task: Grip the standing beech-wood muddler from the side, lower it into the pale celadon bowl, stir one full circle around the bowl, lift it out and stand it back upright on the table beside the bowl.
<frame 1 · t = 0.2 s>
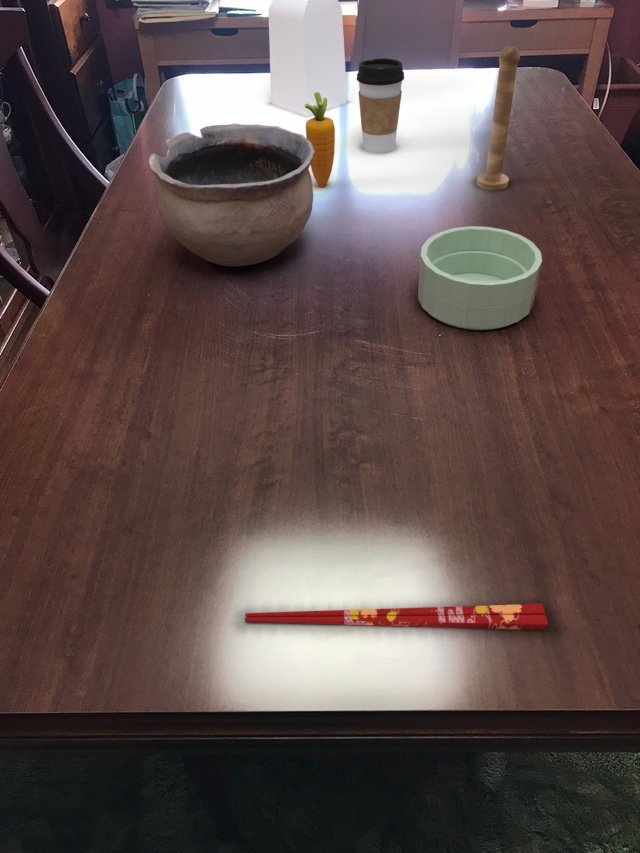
carrot: (322, 189, 118), on the table
ceramic bowl: (244, 252, 102), on the table
muddler: (492, 185, 116), on the table
chopstick: (393, 623, 55), on the table
celadon bowl: (474, 302, 90), on the table
coffee cup: (378, 150, 130), on the table
milk: (309, 105, 150), on the table
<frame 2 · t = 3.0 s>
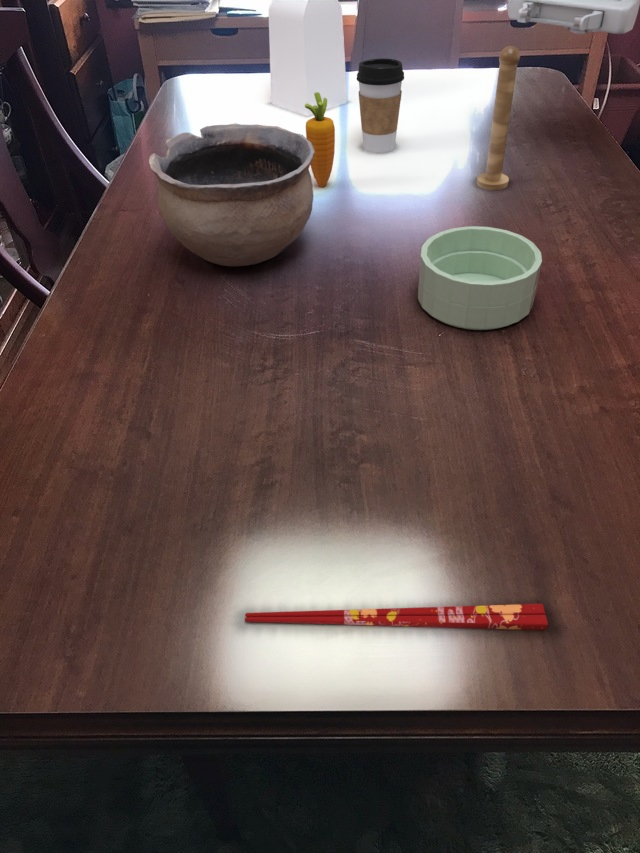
hand: (549, 20, 107), 22 cm above the table, tool horizontal, fingers open, 8 cm apart
nothing on the table moved.
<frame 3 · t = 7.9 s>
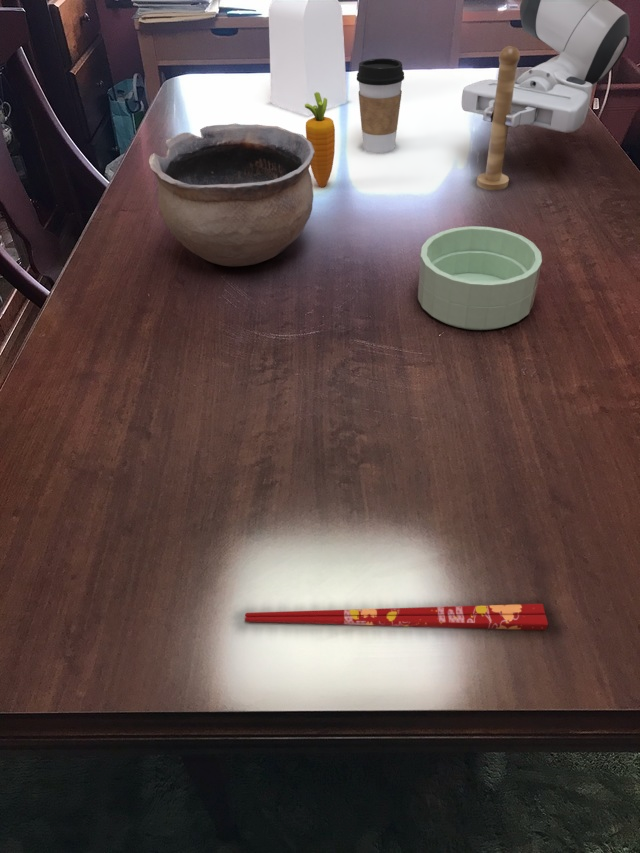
hand: (498, 118, 108), 11 cm above the table, tool horizontal, fingers closed on muddler, 2 cm apart
muddler: (492, 185, 116), on the table, touching gripper
everything else where it was.
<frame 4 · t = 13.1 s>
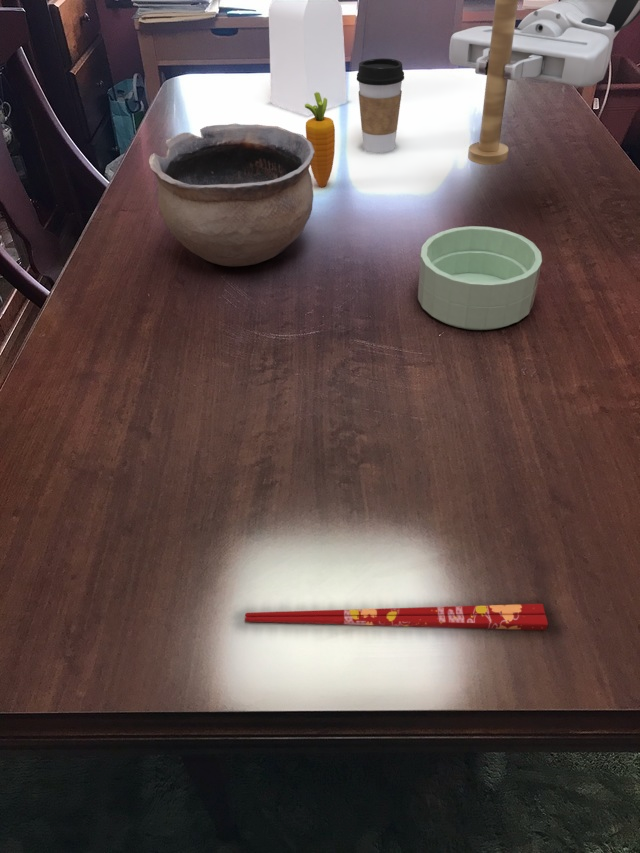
hand: (494, 70, 84), 24 cm above the table, tool horizontal, fingers closed on muddler, 2 cm apart
muddler: (487, 157, 92), point 13 cm above the table, touching gripper
everything else where it was.
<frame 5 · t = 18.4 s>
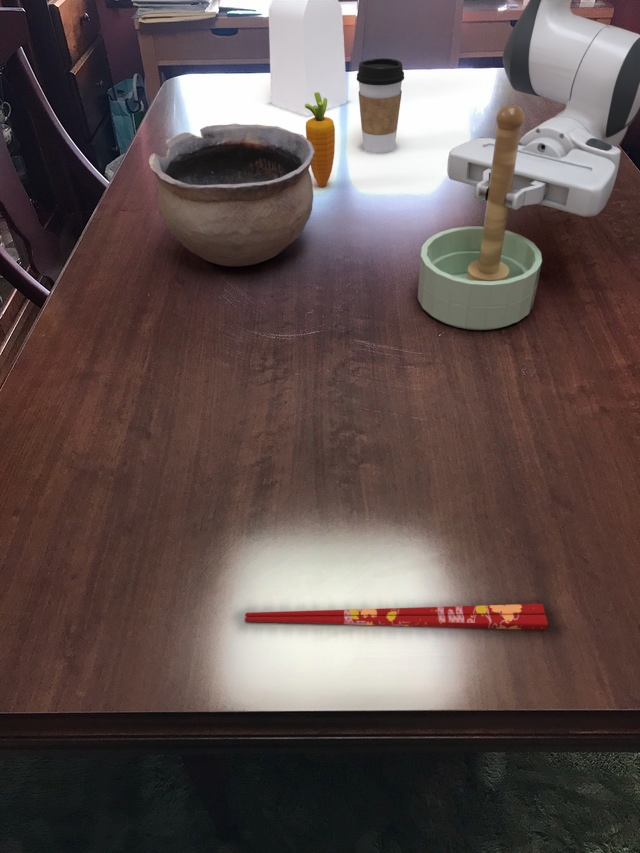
hand: (495, 197, 80), 14 cm above the table, tool horizontal, fingers closed on muddler, 2 cm apart
muddler: (487, 277, 88), point 3 cm above the table, touching gripper
everything else where it was.
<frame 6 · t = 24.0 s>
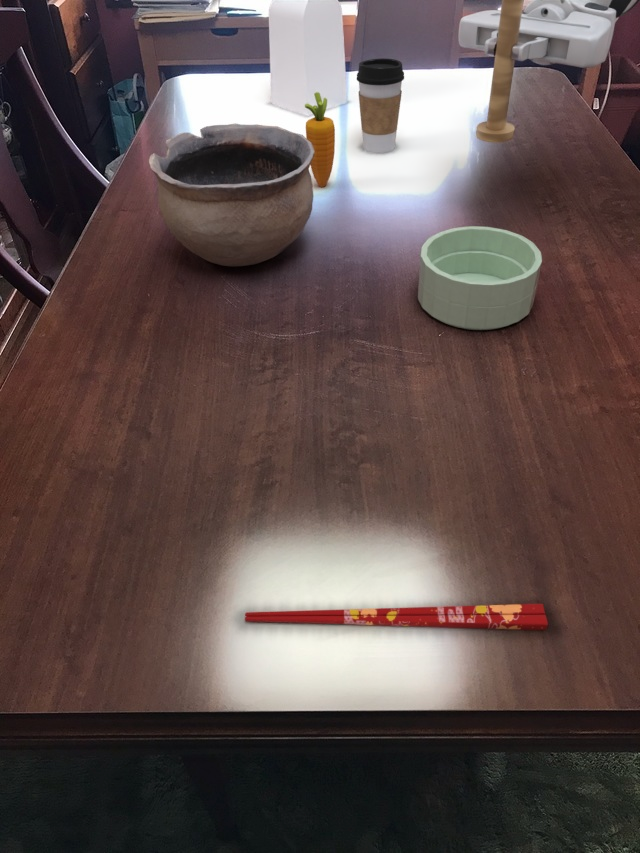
hand: (503, 51, 89), 24 cm above the table, tool horizontal, fingers closed on muddler, 2 cm apart
muddler: (494, 135, 97), point 13 cm above the table, touching gripper
everything else where it was.
when the fingers open (11 cm above the table, at t = 28.9 s): muddler stays where it is, on the table.
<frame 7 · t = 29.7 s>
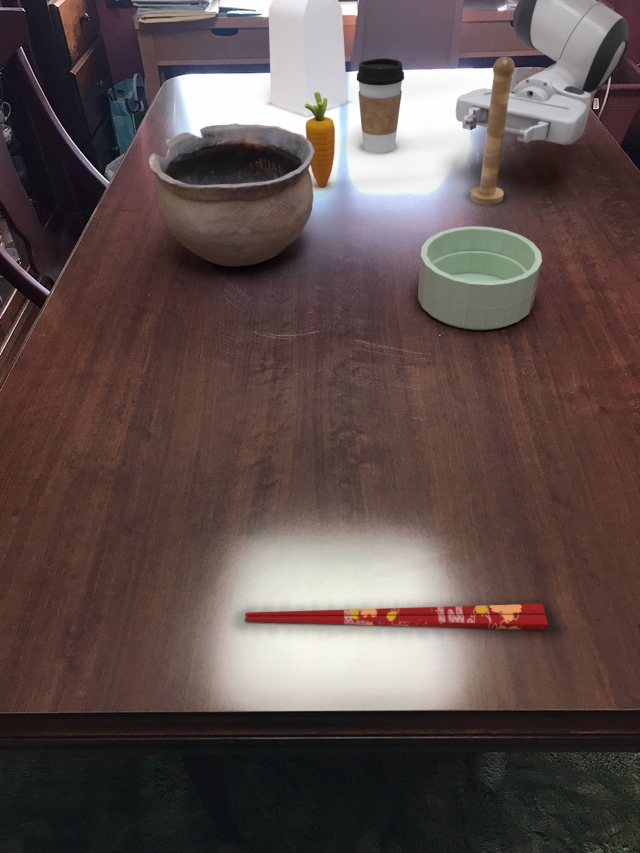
hand: (493, 130, 104), 11 cm above the table, tool horizontal, fingers open, 8 cm apart
muddler: (486, 199, 112), on the table
everything else where it was.
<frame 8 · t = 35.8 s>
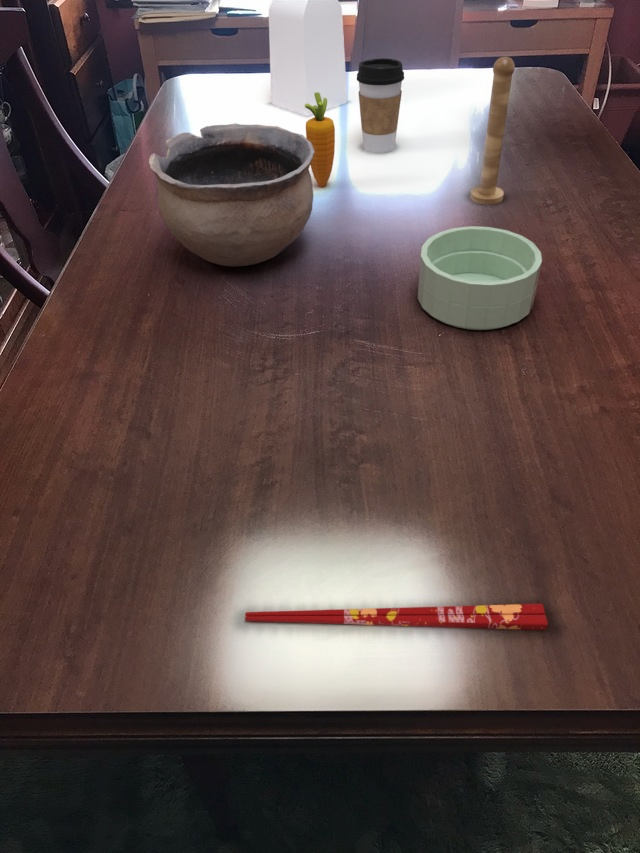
nothing on the table moved.
at the end: muddler tilted 0°; the gripper is holding nothing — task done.
